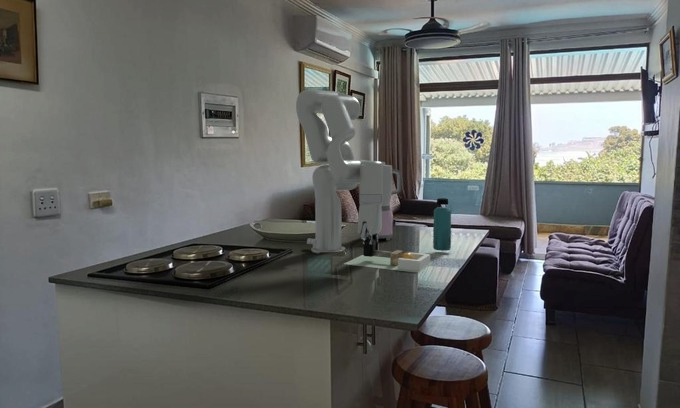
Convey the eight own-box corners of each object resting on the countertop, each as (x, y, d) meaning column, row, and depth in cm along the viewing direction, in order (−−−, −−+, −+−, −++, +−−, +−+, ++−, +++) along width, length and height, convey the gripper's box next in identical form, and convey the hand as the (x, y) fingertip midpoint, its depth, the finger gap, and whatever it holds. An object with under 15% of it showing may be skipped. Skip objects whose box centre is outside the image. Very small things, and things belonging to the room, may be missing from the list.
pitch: (343, 266, 161) (343, 263, 161) (362, 257, 174) (362, 255, 174) (418, 275, 150) (418, 272, 150) (432, 265, 163) (432, 262, 163)
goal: (397, 268, 155) (398, 259, 155) (409, 261, 165) (409, 252, 164) (419, 271, 152) (420, 261, 152) (430, 263, 162) (430, 254, 161)
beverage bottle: (451, 255, 179) (452, 199, 177) (432, 254, 180) (433, 198, 178) (450, 251, 185) (452, 197, 183) (432, 250, 187) (433, 197, 184)
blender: (363, 241, 205) (363, 162, 202) (362, 236, 217) (363, 161, 214) (402, 241, 205) (403, 162, 201) (399, 236, 217) (400, 161, 213)
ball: (401, 252, 158) (413, 257, 156) (405, 249, 161) (417, 254, 160) (397, 263, 159) (409, 268, 157) (401, 260, 162) (413, 265, 161)
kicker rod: (362, 261, 163) (362, 241, 162) (369, 258, 168) (370, 238, 167) (396, 265, 158) (396, 244, 157) (402, 261, 163) (402, 241, 162)
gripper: (370, 196, 172) (370, 249, 174) (349, 201, 157) (349, 258, 159) (391, 197, 168) (390, 251, 170) (371, 202, 154) (371, 261, 156)
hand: (370, 254), depth 165 cm, fingers closed on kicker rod, 3 cm apart
